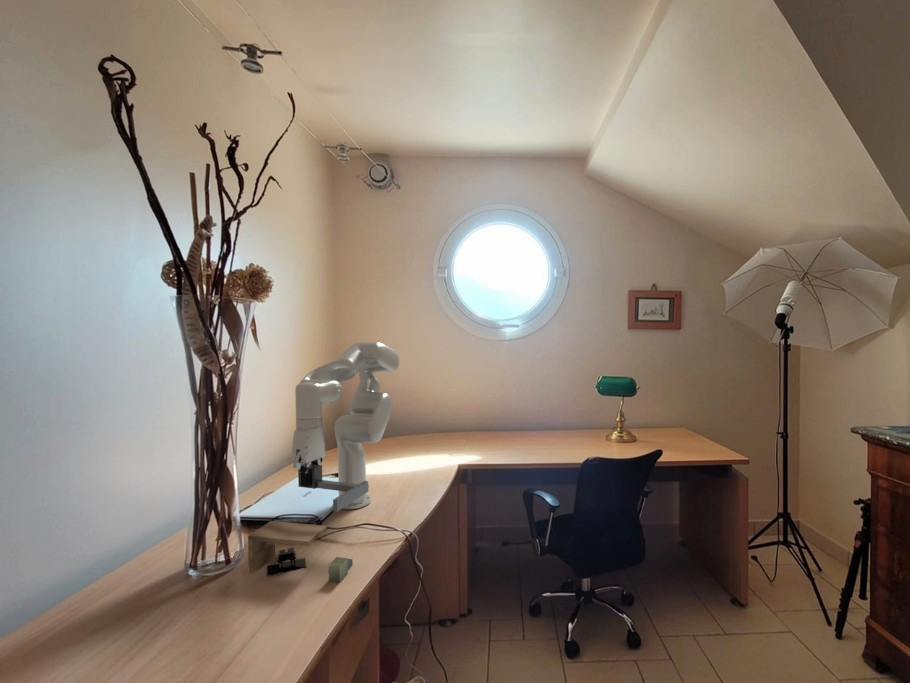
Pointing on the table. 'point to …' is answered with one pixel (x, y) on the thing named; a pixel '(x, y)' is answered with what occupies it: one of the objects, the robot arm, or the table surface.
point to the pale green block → (339, 569)
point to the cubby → (278, 540)
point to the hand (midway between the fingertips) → (310, 483)
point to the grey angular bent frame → (335, 487)
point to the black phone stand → (286, 563)
